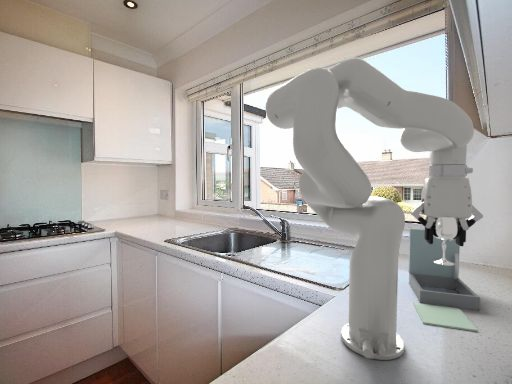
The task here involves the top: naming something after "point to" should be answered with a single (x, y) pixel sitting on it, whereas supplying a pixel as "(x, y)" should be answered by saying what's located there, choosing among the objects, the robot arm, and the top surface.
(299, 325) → the top surface
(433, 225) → the wineglass
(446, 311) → the mat
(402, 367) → the top surface
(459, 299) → the case
